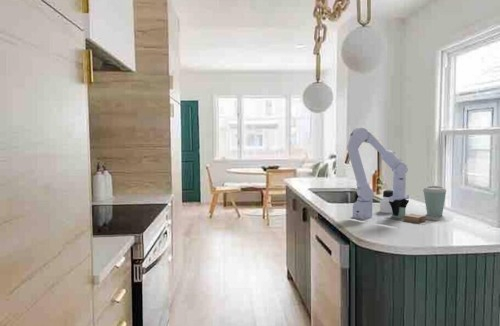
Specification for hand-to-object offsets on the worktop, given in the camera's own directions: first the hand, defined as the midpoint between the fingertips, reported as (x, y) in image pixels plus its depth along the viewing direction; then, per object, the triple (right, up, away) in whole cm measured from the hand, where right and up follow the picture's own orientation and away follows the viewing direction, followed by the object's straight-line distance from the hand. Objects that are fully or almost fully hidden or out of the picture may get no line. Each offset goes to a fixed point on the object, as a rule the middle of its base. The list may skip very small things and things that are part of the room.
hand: (398, 214), depth 202 cm
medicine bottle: (0, -1, +14) cm, 14 cm away
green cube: (0, -1, 0) cm, 1 cm away
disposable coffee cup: (+20, -2, +6) cm, 21 cm away
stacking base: (+4, -2, -6) cm, 7 cm away
